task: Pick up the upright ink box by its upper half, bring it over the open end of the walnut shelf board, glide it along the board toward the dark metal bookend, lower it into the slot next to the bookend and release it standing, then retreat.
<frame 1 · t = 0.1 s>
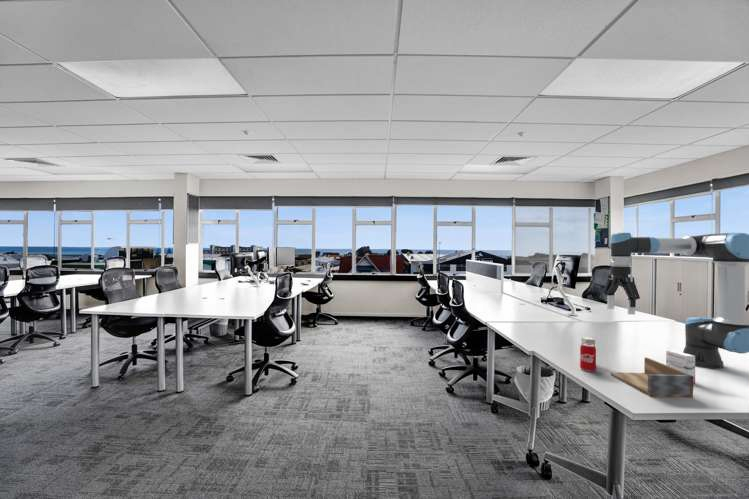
hand: (620, 311, 152), 28 cm above the table, fingers open, 13 cm apart
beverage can: (587, 370, 154), on the table
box: (588, 364, 162), on the table
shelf: (648, 385, 137), on the table
ink box: (680, 380, 143), on the table
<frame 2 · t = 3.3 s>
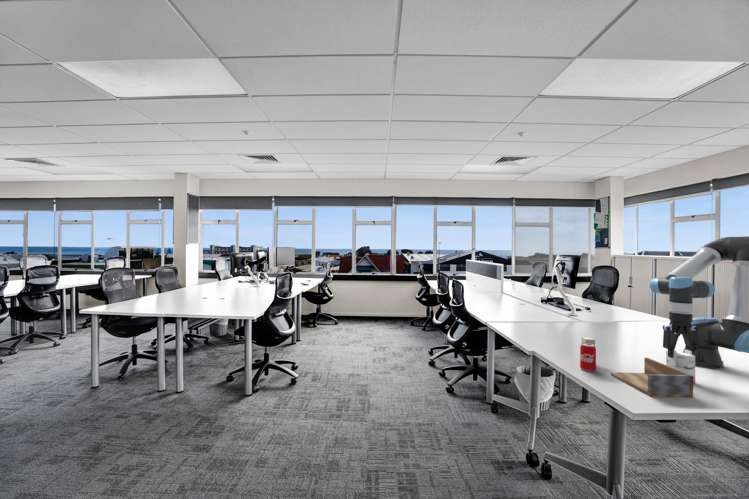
hand: (680, 365, 143), 6 cm above the table, fingers closed on ink box, 6 cm apart
ink box: (680, 380, 143), on the table, touching gripper
everything else where it was.
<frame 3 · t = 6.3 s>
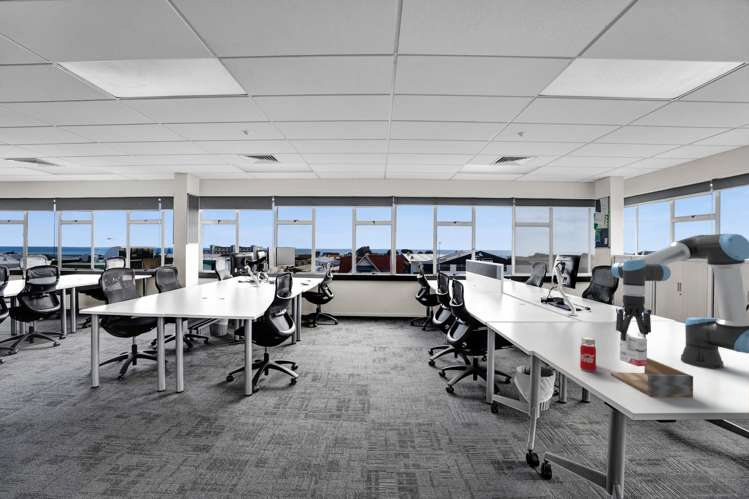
hand: (633, 348, 142), 14 cm above the table, fingers closed on ink box, 6 cm apart
ink box: (633, 363, 142), point 7 cm above the table, touching gripper
everything else where it was.
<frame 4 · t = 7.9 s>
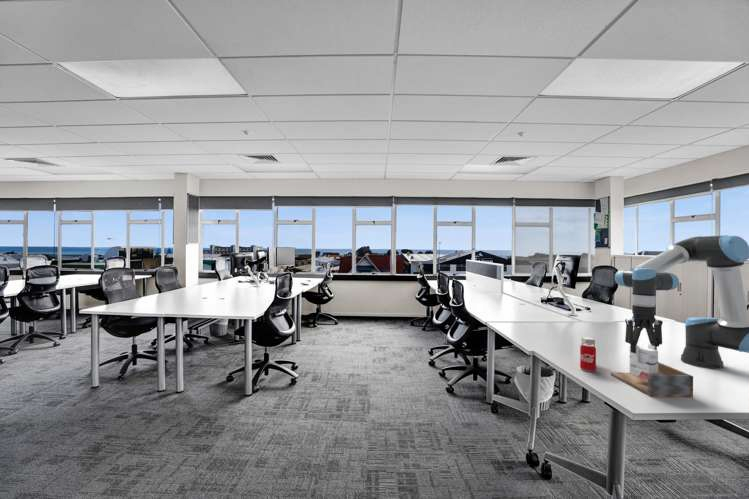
hand: (643, 360, 136), 10 cm above the table, fingers closed on ink box, 6 cm apart
ink box: (643, 376, 136), point 4 cm above the table, touching gripper
everything else where it was.
when the fingers open (8 cm above the table, at t = 9.4 s): ink box stays where it is, resting on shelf.
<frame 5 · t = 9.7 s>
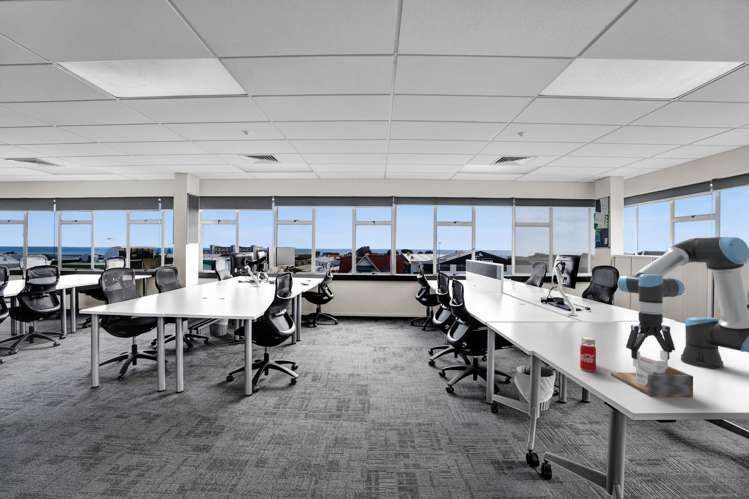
hand: (650, 367, 133), 9 cm above the table, fingers open, 10 cm apart
ink box: (650, 386, 133), point 1 cm above the table, touching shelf
everything else where it was.
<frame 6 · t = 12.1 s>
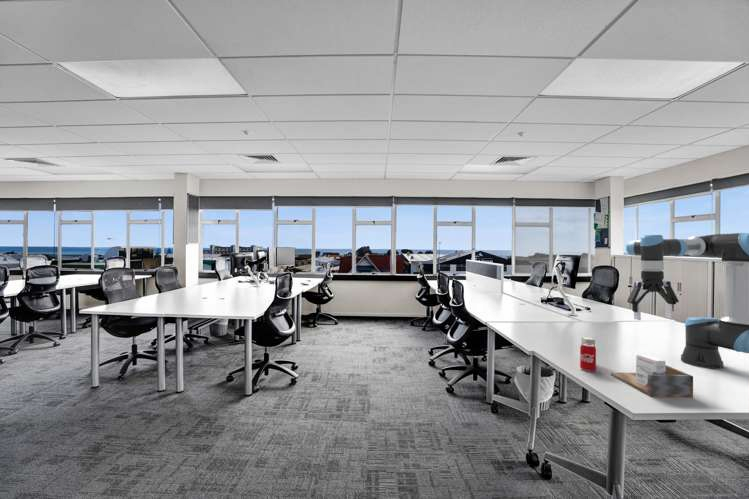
hand: (653, 319, 142), 26 cm above the table, fingers open, 13 cm apart
nothing on the table moved.
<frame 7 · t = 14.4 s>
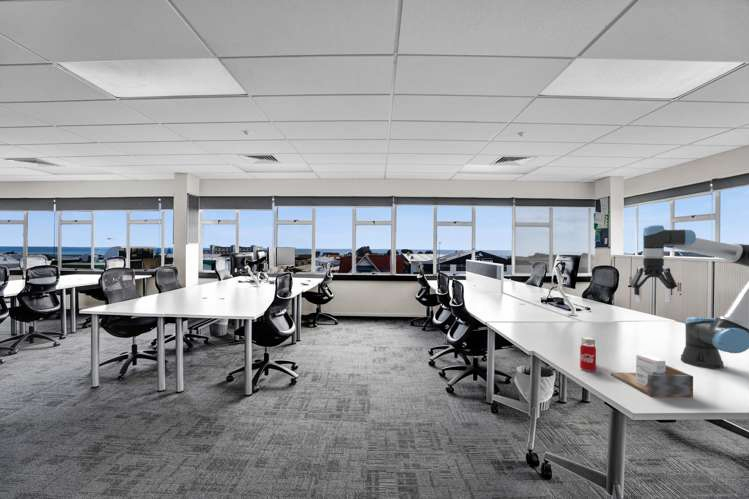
hand: (653, 302, 157), 32 cm above the table, fingers open, 13 cm apart
nothing on the table moved.
at the end: ink box inside the target area (0.7 cm from its centre), point 1.0 cm above the table; ink box tilted 0°; the gripper is holding nothing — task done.
